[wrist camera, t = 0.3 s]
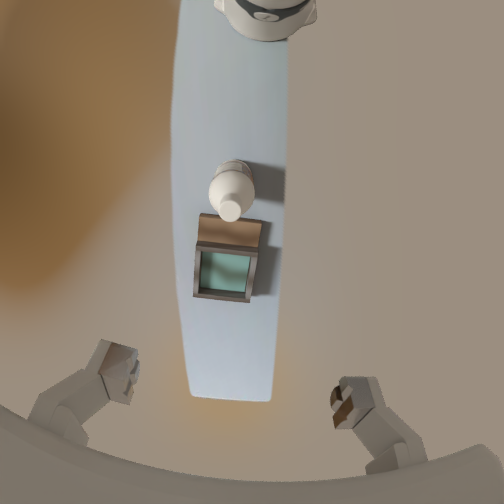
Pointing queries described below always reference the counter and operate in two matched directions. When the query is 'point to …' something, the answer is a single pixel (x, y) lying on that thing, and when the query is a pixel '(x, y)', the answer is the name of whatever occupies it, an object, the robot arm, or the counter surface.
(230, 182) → the bath foam
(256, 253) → the tray
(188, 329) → the counter surface
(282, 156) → the counter surface
